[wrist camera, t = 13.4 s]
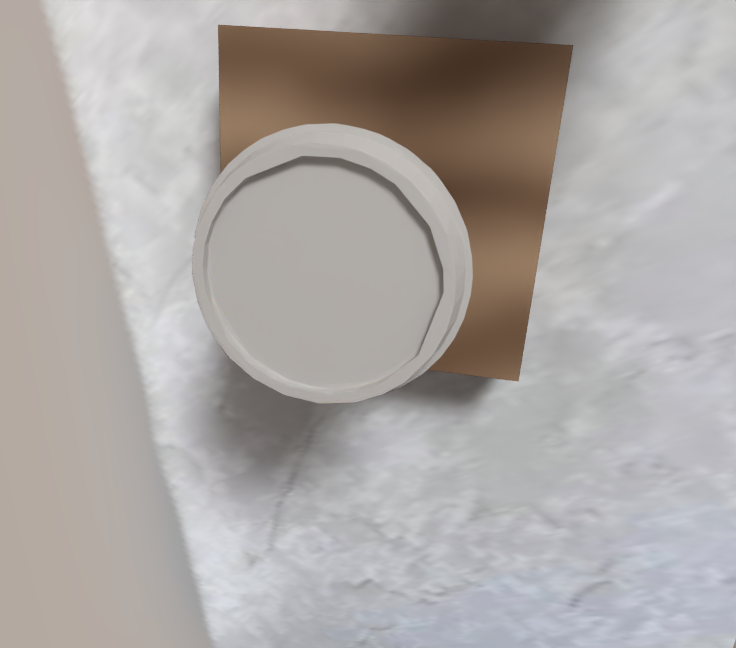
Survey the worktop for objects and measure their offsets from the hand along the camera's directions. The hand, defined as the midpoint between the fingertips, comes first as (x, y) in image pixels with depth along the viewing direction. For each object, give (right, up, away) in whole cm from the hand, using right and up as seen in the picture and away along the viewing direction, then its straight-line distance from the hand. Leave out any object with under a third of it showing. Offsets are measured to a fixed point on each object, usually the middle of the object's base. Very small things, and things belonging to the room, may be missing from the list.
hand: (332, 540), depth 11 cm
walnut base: (+2, +11, +25) cm, 28 cm away
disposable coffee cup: (+1, +9, +21) cm, 23 cm away
